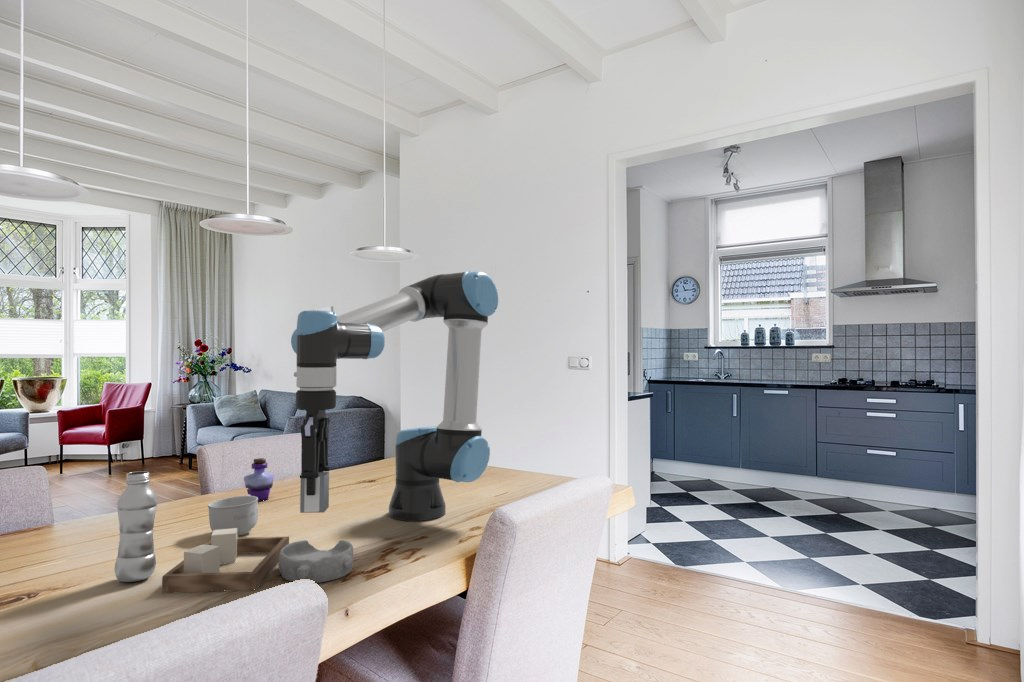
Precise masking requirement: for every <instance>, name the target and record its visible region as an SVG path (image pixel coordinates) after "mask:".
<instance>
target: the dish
mask: <svg viewBox="0 0 1024 682" xmlns="http://www.w3.org/2000/svg"><path fill="white" fill-rule="evenodd" d="M354 554H355V553H354V545H353V544H352V543H351V541H347V540H344V539H340V540H339V541H338V543H336V545H335V546H333V547H332V548H330V549H325V550H320V549H318V548H316V547H314V545H312V544H311V543H310V542H309V541H308V540H307V539H302V540H297V541H293V542H289V544H288V545H286V546H285V547H283V548H282V549H281V551H280V555H279V563H278V570H279V573H280V576H281V577H282V578H284V580H287V581H289V582H292V581H295V580H300V579H310V580H313V581H315V582H316V583H315V584H319V583H320V584H321V583H325V582H330V581H333V580H337V579H340V578H343V577H346V576H347V575H348V574H349V573H351V571H352V570H353V566H354V560H355V558H354V556H355V555H354Z"/></svg>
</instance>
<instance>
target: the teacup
mask: <svg viewBox="0 0 1024 682" xmlns="http://www.w3.org/2000/svg"><path fill="white" fill-rule="evenodd" d="M258 503H259V502H258V497H256V496H251V495H248V494H244V495H238V496H230V497H228V496H227V497H225V498H224V497H223V498H220V499H216V500H213V501H211V502H209V503H208V504H207V508H208V521H209V526H210V529H211V531H212V532H213V531H214V530H219V529H231V528H237V537H239V536H240V537H241V536H244V535H246V534H248V533H250V532H251V531H252V529H253V528H254V527H255V526H256V525H257V523H258V521H259V504H258Z"/></svg>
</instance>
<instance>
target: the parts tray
mask: <svg viewBox="0 0 1024 682" xmlns="http://www.w3.org/2000/svg"><path fill="white" fill-rule="evenodd" d="M288 544H290V535H288V536H256V537H253V536H251V537H250V536H249V537H247V536H246V537H237V554H256V553H257V554H258V553H261V554H262V553H268V554H266V556H264V558H263V559H261V561H260V562H259V563H258V564H257V566H255V568H254V569H253V570H252V571H232V572H231V571H230V572H229V571H226V572H219V573H188V574H184V559H183V560H181V562H179V563H178V564H177V565H175V566H174V567H173V568H171V569H170V570H169V571H168V572H166V573H165V574H164V575H162V577H161V580H162V581H161V593H162V594H174V593H173V592H180V593H181V592H182V593H184V592H186V593H208V592H209V591H217V592H225V591H224V590H229V591H228V592H235V591H234V590H248V591H257V589H258V588H259V587H260V586H261V584H262V583H263V582H264V581H265V580H264V579H267V577H268V576H269V575H270V574H271V572H272V571H273V570H274V569H275V568H276V566H278V565H279V555H280V551H281V549H282V548H283V547H285V546H286V545H288ZM204 545H211V539H210V540H208V541H207V542H205V543H204ZM262 581H263V582H262ZM258 586H259V587H258ZM257 587H258V588H257ZM256 588H257V589H256ZM254 589H255V590H254ZM230 590H231V591H230ZM182 593H181V594H182ZM209 593H210V592H209ZM184 594H185V593H184Z"/></svg>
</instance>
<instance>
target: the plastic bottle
mask: <svg viewBox="0 0 1024 682" xmlns="http://www.w3.org/2000/svg"><path fill="white" fill-rule="evenodd" d="M125 477H126V479H125V485H126V487H125V489H124V490H123V491H122V493H120V495H119V497H118V499H117V502H116V509H117V518H118V523H119V525H118V527H119V528H118V529H119V542H118V548H117V549H118V550H117V557H116V559H115V562H114V563H115V564H114V569H113V570H114V576H115V578H116V579H117V580H118V582H122V583H132V582H133V583H134V582H138V581H143V580H146V579H148V578H150V577H151V576H152V575H153V574H154V572H155V570H156V566H157V559H156V553H155V547H154V546H155V544H154V526H155V518H156V512H157V507H158V497H157V496H158V495H157V493H156V492H155V490H154V489H153V488H152V487H151V486H150V484H149V483H150V482H151V478H150V472H149V471H143V470H142V471H132V472H127V473H126V476H125Z"/></svg>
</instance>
